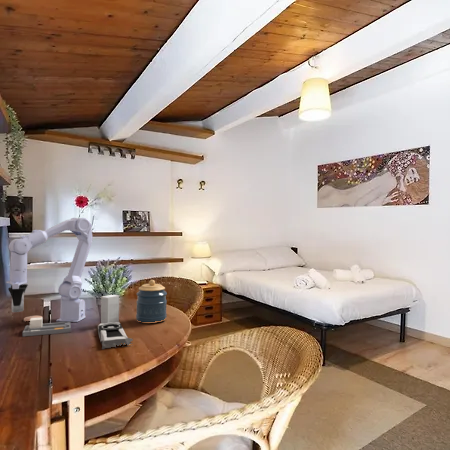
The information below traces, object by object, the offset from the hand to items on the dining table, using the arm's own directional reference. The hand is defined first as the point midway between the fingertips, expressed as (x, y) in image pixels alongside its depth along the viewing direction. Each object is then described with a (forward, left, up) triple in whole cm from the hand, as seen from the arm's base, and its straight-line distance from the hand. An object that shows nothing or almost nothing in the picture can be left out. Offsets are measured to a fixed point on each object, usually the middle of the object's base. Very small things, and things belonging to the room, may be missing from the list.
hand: (17, 304), depth 141 cm
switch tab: (-9, +3, -8) cm, 12 cm away
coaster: (+2, -14, -10) cm, 17 cm away
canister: (-48, -19, -10) cm, 52 cm away
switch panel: (-13, +1, -10) cm, 16 cm away
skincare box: (-33, -10, -10) cm, 36 cm away
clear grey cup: (0, 0, -2) cm, 2 cm away
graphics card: (-40, +6, -10) cm, 42 cm away
